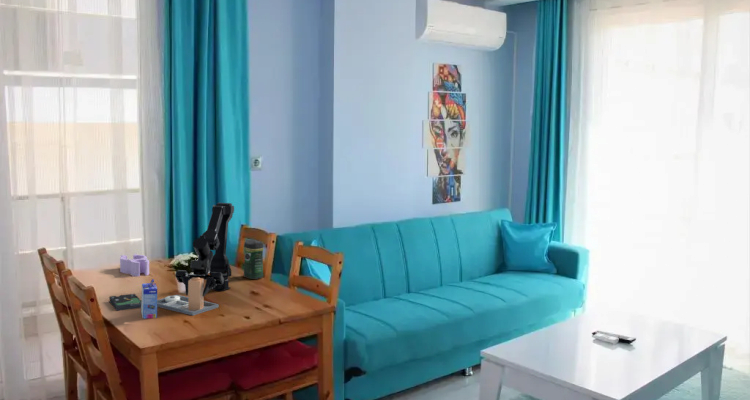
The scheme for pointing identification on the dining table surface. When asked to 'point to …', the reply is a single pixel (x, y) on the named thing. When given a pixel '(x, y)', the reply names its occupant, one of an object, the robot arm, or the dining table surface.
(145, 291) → the ink cartridge box
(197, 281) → the block
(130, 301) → the disk drive
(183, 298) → the grey rectangular tray
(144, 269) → the clip
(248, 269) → the coffee jar
